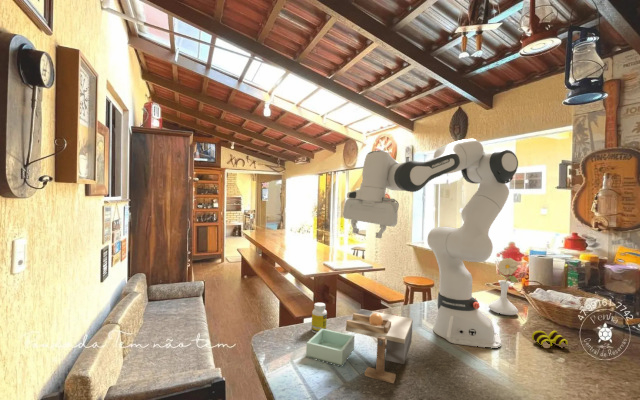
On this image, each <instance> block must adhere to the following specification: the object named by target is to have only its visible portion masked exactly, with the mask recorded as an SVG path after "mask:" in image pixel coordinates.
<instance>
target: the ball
mask: <svg viewBox="0 0 640 400" xmlns="http://www.w3.org/2000/svg"><path fill="white" fill-rule="evenodd" d="M369 322H370V324H372V325H377V326H381V325H382V323H383V318H382V316H381V315H379V314H377V313H374V314H372V315H371V316H370V318H369Z"/></svg>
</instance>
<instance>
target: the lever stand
mask: <svg viewBox="0 0 640 400" xmlns="http://www.w3.org/2000/svg"><path fill="white" fill-rule="evenodd" d="M390 315H395V316H399V313H393V312H392V313H391V314H390ZM386 341H387V340H386V337H381V336H378V338H377V341H376V344H377V345H376V364H375V365H376V367H375V368H374V367H369V366H367V367H366V369H365V371H364V376H365V377H369V378H372V379H376V380H379V381H384V382H387V383H391V384H395V380H396V378H397V377H396V375H397V374H396V373H392V372H389V371H385V368H386V367H385V361H386Z"/></svg>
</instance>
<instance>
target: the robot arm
mask: <svg viewBox="0 0 640 400" xmlns="http://www.w3.org/2000/svg"><path fill="white" fill-rule="evenodd" d="M518 166H519V160H518V157H517V155H516V154H515V153H514V152H513V151H511V150H508V149H497V150H494V151H490V152H485V151H484V147H483V145H482V143H481V142H480V141H479V140H477V139H475V138H468V139H467V138H466V139H460V140H456V141H453V142H450V143H447V144H445V145H443V146H441V147H439V148H437V149H436V150H434V154H433V158H431V159H429V160H426V161H425V160H424V161H419V160H409V161H406V162H399V161H397V160H396V159H395V158H393V156H391V154H390V152H389V151H387V150H372V151H369V152H368V153H367V154H366V156H365V159H364V162H363V166H362V173H361V174H362V180H361V184H360V186H359V187H360V189H357V190H353V191H349V192H347V194H346V198H347V199H346V200H345V202H344V206H343V211H342V217H343V218H344V219H345V220H350V224H351V227H352V234H359V231H360V228H358V226H357V224H358V222H364V223H368V224H369V223H370V224H374V225H379V231H377V232H375V238H377V239H382V238H383V233H384V232H385V231H386V230H387V227H395V226H397V224H398V211H399V207H400V206H399V202H398V201H397V200H396V199H395V198H388V197H386V192H387V191H386V190H387V189H388V190H390V191H401V192H404V191H405V192H410V193H415V192H418V191H420V190H422V189H423V188H424V187H425V186H426V185H427V184H428V183H429V182H430V181H432V180H433V179H436V178H438V177H441V176H443V175H448V174H453V173H457V172H460V171H461V175H462V177H463V179H464V180H465V181H466V182H467V183H470V184H475V185H476V184H479V186H478V189H477V191H476V192H475V193H474V194H473V195H472V197H470V199H469V201H468V202H467V204H466V205H465V206H464V207H463V208H462V210H461V219H462V221H463V224H462V226H461V227H459V228H457V227H451V226H439V227H438V226H437V227H434V228H432V229H431V230H430V231H429V233H428V235H427V239H426V241H427V244H428V247H429V248H430V250H432V252H433V255H434V257H435V260H436V262H437V265H438V270H439V271H438V272H439V291H438V294H437V299H436V301H437V302H436V305H437V312H436V314H437V315H436V318H435V323H434V325H433V328H432V330H433V332H434V333H435V334H436V335H438V336H439V337H442V338H444V339H445V340H447V341H448V342H449V343H452V344H455V345H463V346H471V347H477V346H478V347H479V348H485V347H491V348H490V349H492V348H498V347H500V345H501V346H502V340H501V337H500V335H499V334H497V332H495V328H494V324H493V322H492V321H491V319H490V318H489V317H488V316H487V315H486V314H485V313H483V312H482V311H481V310H479V309H480V303H479V302H478V300H477V298H476V297H473V276H472V273H471V272H470V271H469V269H467V267H466V266H465V263H464V261H465V262H470V263H472V262H473V263H484V262H486V261H487V260H488V259H489V258H490V257H491V256H492V253H493V249H494V247H493V242H492V239H491V238H490V237H489V231H490V229H491V226H492V224H493V223H494V221H495V220H496V219H497V217H498V215H499V214H500V212H501V211H502V209H503V207H504V206H505V204H506V203H507V200H508V198H509V194H510V188H509V187H508V186H507V185H506V184H508V183H510V182H511V181H512V180H513V178H514V176H515V175H516V172H517V171H518ZM500 348H501V347H500ZM498 349H499V348H498Z"/></svg>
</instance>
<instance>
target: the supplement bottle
mask: <svg viewBox="0 0 640 400" xmlns="http://www.w3.org/2000/svg"><path fill="white" fill-rule="evenodd" d="M313 305H314V306H313V307H314V308H313V310H312V311H311V328H310V329H311V332H312V333H314V334H316V333H317V332H319V331H320V330H321V329H327V317H328V312H327V310H326V303H324V302H315V303H314V304H313Z"/></svg>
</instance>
